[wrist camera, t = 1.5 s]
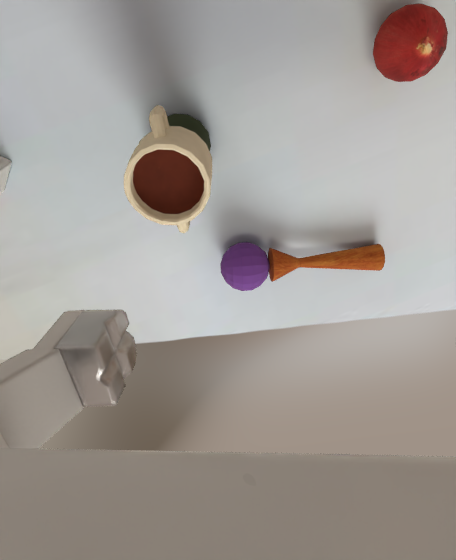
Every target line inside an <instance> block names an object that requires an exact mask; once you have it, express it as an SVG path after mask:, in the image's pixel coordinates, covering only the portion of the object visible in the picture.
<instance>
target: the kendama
mask: <svg viewBox="0 0 456 560" xmlns="http://www.w3.org/2000/svg"><path fill="white" fill-rule="evenodd" d="M384 263H385V254H384V250H383V247H382V246H381V245H380V244H376V245H370V246H365V247H359V248H354V249H348V250H342V251H337V252H331V253H326V254H320V255H315V256H309V257H304V258H296V257H293V256H290V255H288V254H285V253H283V252H280V251H277V250H275V249H272V248H269V252H268V258H267V255H266V253H265V252H264V251H263V250H262V249H261V248H260V247H259V246H257V245H255V244H252V243H249V242H244V243H237V244H235V245H233V246H231V247H230V248H229V249H228V250H227V251H226V252H225V253H224V255H223V258H222V261H221V273H222V275H223V277H224V279H225V281H226V282H227V283H228V284H229V285H230V286H231V287H232V288H235V289H238V290H241V291H247V290H253V289H255V288H257V287H259V286H260V285H261V284H262V283H263V282H264V281H265V279H266V278H267V276H268V272H269V275H270V279H271V281H272V282H273V281H274V280H276V279H278V278H280V277H282V276H284V275H285V274H287V273H289V272H291V271H293V270H295V269H297V268H298V267H307V268H331V269H356V270H382V268H383V267H384Z"/></svg>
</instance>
